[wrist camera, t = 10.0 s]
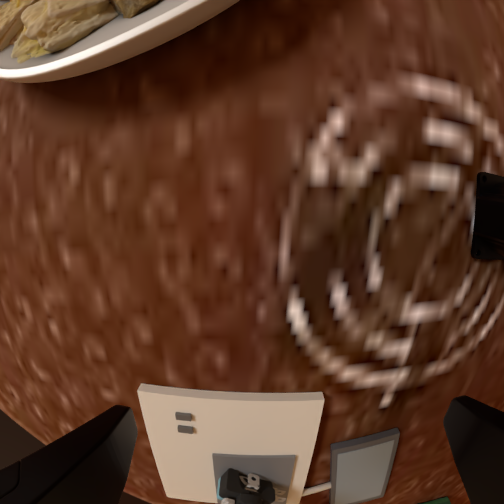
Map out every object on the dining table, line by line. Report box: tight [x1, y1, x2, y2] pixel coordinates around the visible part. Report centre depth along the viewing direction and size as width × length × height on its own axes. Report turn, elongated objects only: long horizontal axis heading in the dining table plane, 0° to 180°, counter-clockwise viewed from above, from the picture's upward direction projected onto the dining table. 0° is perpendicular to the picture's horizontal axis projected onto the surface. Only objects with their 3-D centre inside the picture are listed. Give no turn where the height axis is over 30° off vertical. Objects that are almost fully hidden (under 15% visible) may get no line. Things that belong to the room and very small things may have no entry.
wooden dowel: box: [301, 482, 331, 497], centre depth 24 cm, size 13×1×1 cm, turn 114°
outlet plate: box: [137, 383, 324, 504], centre depth 22 cm, size 14×16×1 cm
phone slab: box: [329, 428, 400, 504], centre depth 23 cm, size 6×12×1 cm, turn 9°
